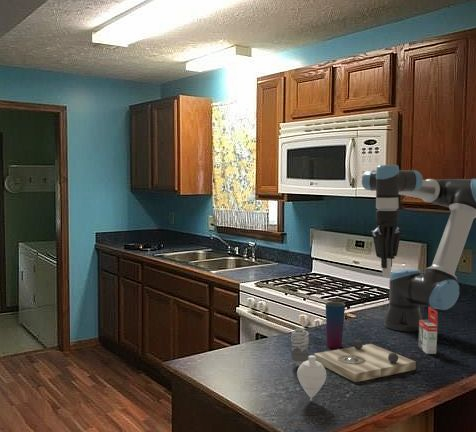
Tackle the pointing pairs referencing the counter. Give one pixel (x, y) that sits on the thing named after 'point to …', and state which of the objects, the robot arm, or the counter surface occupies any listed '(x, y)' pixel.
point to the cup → (334, 323)
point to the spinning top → (311, 376)
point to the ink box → (428, 332)
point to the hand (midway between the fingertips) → (386, 277)
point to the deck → (364, 362)
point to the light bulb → (298, 352)
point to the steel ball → (350, 360)
